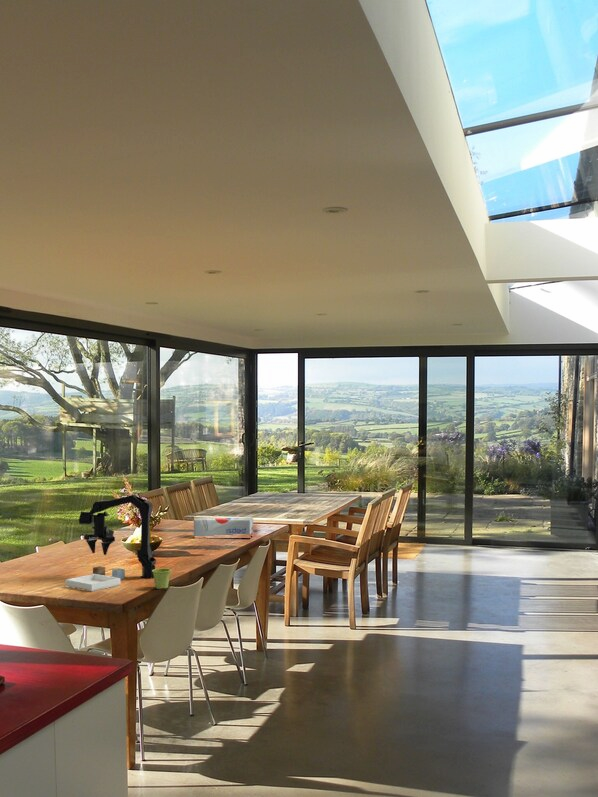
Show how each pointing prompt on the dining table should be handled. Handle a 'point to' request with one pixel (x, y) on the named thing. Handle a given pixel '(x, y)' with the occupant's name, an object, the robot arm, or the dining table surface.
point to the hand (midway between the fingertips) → (99, 554)
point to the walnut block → (99, 570)
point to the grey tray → (93, 582)
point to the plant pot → (161, 577)
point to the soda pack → (222, 526)
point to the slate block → (118, 573)
